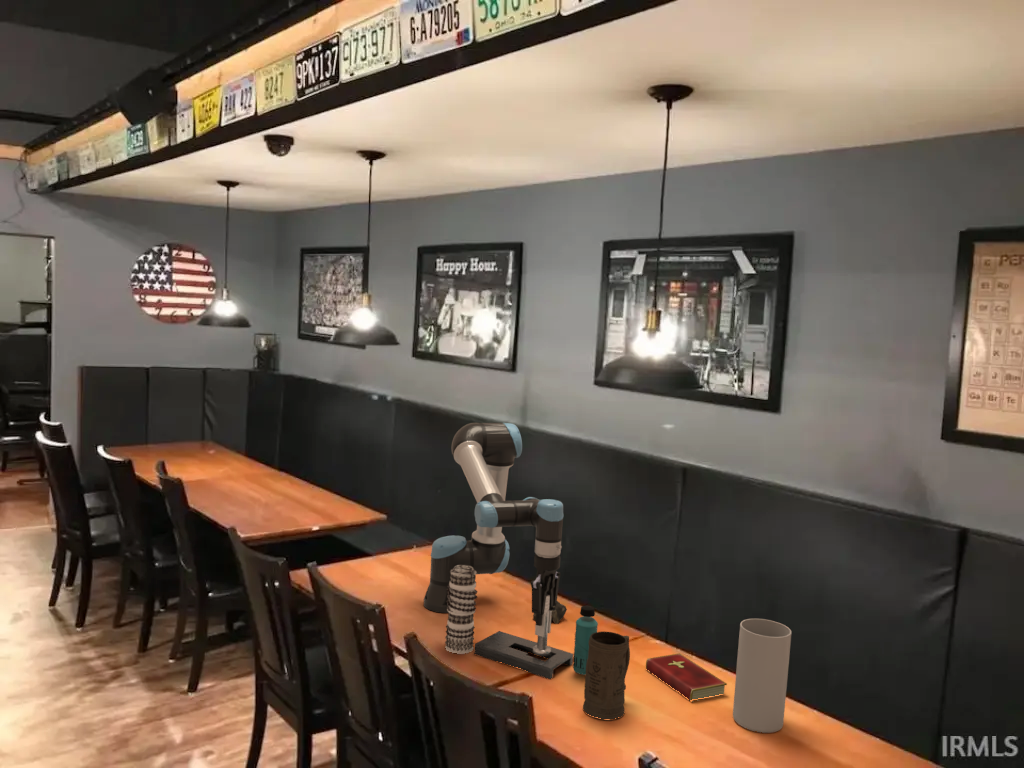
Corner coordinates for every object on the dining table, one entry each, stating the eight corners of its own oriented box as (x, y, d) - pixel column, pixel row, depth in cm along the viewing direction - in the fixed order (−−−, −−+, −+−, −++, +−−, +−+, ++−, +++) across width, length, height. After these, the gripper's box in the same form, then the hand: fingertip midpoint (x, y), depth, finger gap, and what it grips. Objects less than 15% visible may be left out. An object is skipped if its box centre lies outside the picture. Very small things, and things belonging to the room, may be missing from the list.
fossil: (567, 612, 280) (568, 591, 274) (564, 633, 272) (565, 612, 267) (535, 608, 281) (536, 587, 276) (531, 629, 273) (532, 608, 268)
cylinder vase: (754, 737, 202) (762, 639, 200) (722, 714, 214) (730, 621, 212) (793, 730, 207) (802, 634, 205) (760, 707, 219) (768, 616, 217)
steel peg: (529, 652, 236) (532, 595, 235) (538, 647, 241) (541, 590, 239) (544, 657, 233) (548, 599, 232) (553, 651, 238) (557, 594, 236)
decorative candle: (437, 647, 246) (441, 566, 243) (459, 639, 252) (464, 560, 250) (458, 657, 239) (462, 574, 237) (480, 649, 246) (485, 568, 244)
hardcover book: (690, 704, 219) (691, 689, 219) (645, 671, 238) (646, 657, 238) (725, 697, 225) (726, 682, 224) (678, 666, 243) (679, 652, 243)
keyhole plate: (474, 654, 242) (474, 643, 242) (498, 640, 253) (499, 630, 253) (550, 679, 228) (550, 668, 228) (572, 664, 239) (573, 653, 239)
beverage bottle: (597, 673, 234) (602, 605, 233) (591, 682, 228) (596, 612, 226) (575, 668, 236) (579, 601, 235) (569, 677, 230) (573, 608, 228)
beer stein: (612, 726, 204) (620, 647, 203) (574, 713, 209) (581, 636, 209) (636, 707, 217) (644, 633, 216) (600, 695, 222) (607, 623, 222)
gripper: (544, 563, 226) (539, 645, 228) (572, 551, 239) (567, 629, 241) (521, 557, 230) (517, 638, 232) (550, 546, 243) (545, 622, 245)
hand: (542, 633), depth 237 cm, fingers closed on steel peg, 3 cm apart
